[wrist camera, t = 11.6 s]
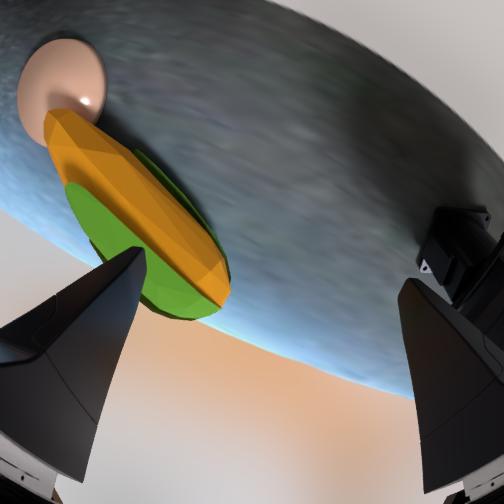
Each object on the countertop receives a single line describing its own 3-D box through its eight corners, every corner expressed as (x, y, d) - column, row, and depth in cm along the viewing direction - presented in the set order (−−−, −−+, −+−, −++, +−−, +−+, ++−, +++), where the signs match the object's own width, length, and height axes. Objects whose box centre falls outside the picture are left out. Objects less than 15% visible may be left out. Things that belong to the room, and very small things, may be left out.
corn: (175, 360, 22) (-13, 169, 13) (190, 297, 28) (46, 139, 20) (253, 325, 19) (38, 82, 11) (254, 260, 26) (99, 76, 17)
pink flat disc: (104, 24, 14) (95, 23, 13) (114, 134, 20) (106, 138, 19) (22, 59, 15) (13, 60, 14) (34, 151, 20) (26, 155, 19)
